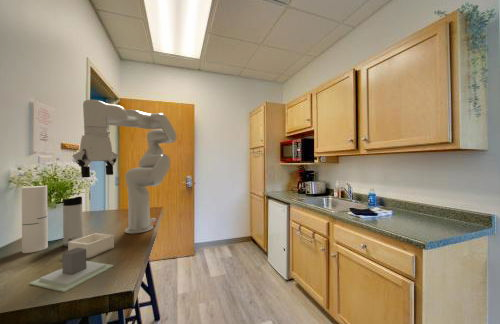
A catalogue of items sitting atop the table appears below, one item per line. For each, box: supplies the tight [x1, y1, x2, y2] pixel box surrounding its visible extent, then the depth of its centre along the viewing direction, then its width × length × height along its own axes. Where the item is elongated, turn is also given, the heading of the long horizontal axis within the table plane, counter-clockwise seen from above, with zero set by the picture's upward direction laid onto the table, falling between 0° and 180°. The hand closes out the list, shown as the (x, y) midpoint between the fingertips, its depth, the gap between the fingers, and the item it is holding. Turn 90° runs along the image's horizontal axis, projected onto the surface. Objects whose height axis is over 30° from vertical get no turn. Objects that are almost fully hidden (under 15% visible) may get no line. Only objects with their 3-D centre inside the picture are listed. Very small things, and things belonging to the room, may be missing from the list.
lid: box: [39, 248, 107, 287], centre depth 63 cm, size 11×11×7 cm
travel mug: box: [62, 196, 84, 247], centre depth 88 cm, size 6×7×20 cm
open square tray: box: [67, 232, 115, 260], centre depth 79 cm, size 10×10×5 cm
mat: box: [29, 260, 115, 293], centre depth 63 cm, size 14×14×1 cm
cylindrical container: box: [21, 185, 49, 254], centre depth 83 cm, size 7×7×25 cm
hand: (98, 175), depth 82 cm, fingers open, 9 cm apart
